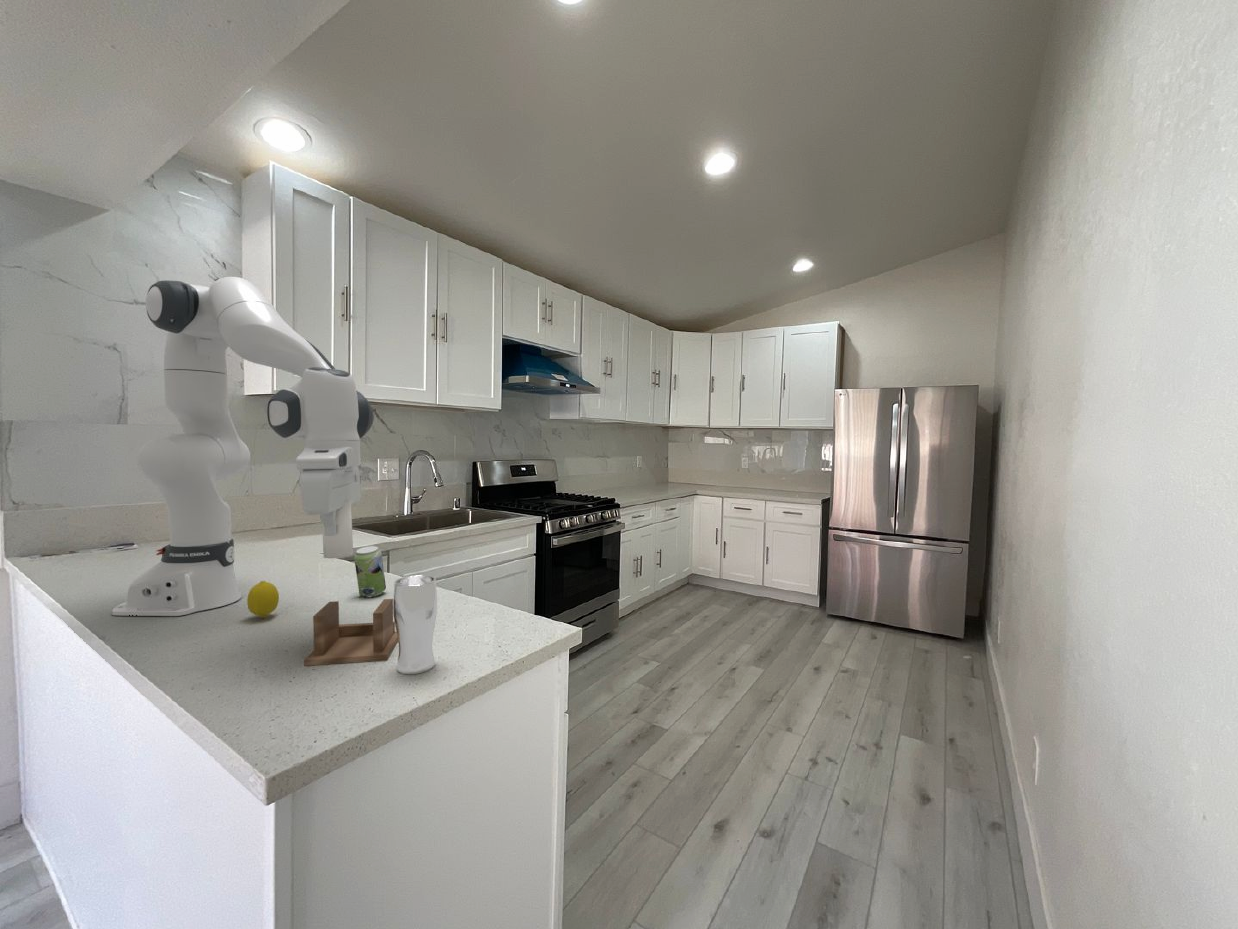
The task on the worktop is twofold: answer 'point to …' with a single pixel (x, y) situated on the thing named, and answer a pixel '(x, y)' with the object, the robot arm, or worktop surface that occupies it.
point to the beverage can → (370, 571)
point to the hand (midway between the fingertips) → (337, 532)
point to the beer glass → (415, 622)
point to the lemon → (263, 599)
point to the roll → (340, 535)
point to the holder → (352, 636)
